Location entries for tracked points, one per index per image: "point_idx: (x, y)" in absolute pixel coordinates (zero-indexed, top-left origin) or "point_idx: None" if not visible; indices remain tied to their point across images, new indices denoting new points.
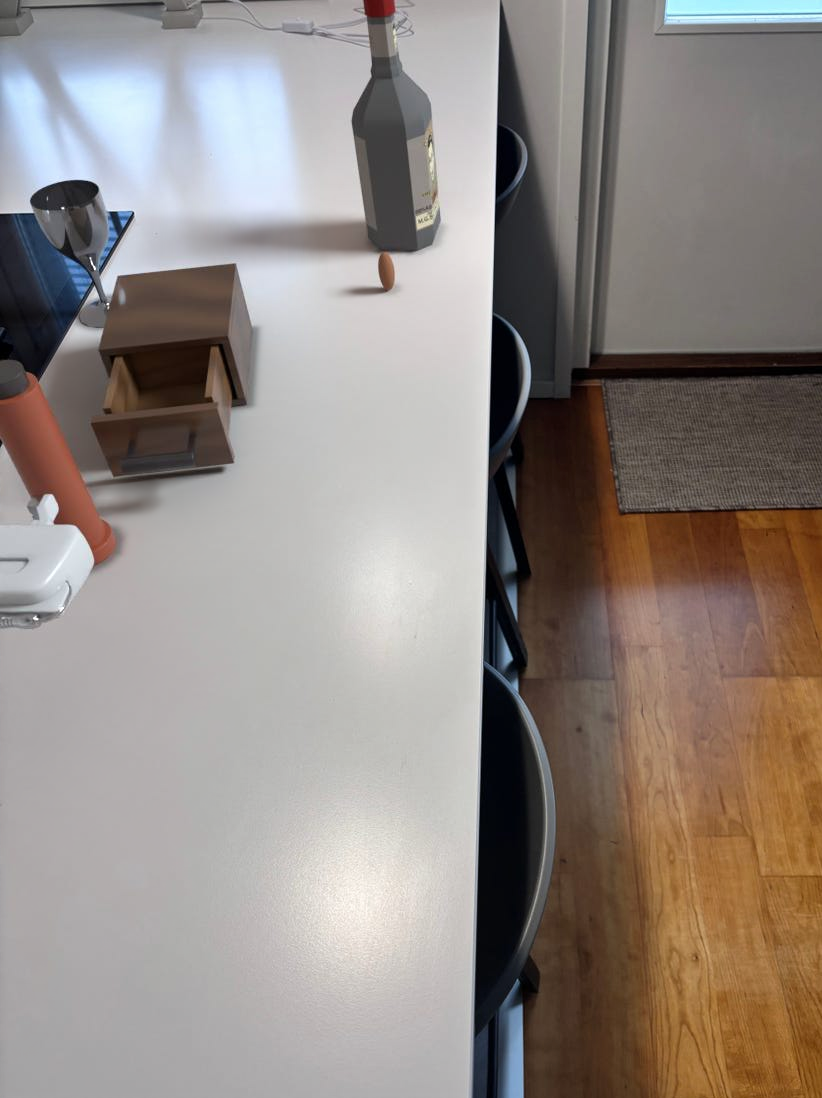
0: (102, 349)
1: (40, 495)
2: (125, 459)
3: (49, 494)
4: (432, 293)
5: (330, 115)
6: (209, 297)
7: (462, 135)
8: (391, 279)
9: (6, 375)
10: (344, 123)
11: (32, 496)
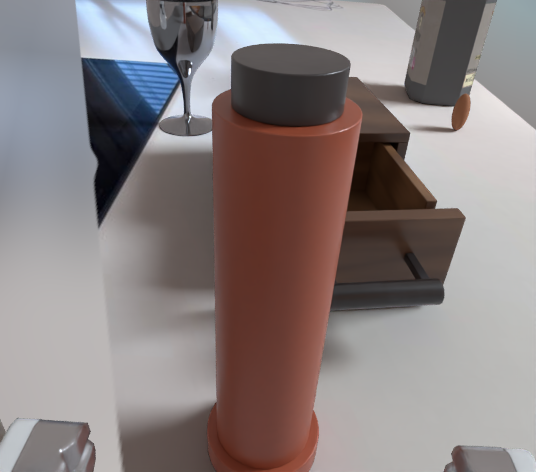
0: None
1: (498, 457)
2: (336, 286)
3: (526, 453)
4: (500, 136)
5: (314, 32)
6: (353, 99)
7: None
8: (465, 119)
9: (316, 63)
10: (328, 37)
11: (469, 460)
